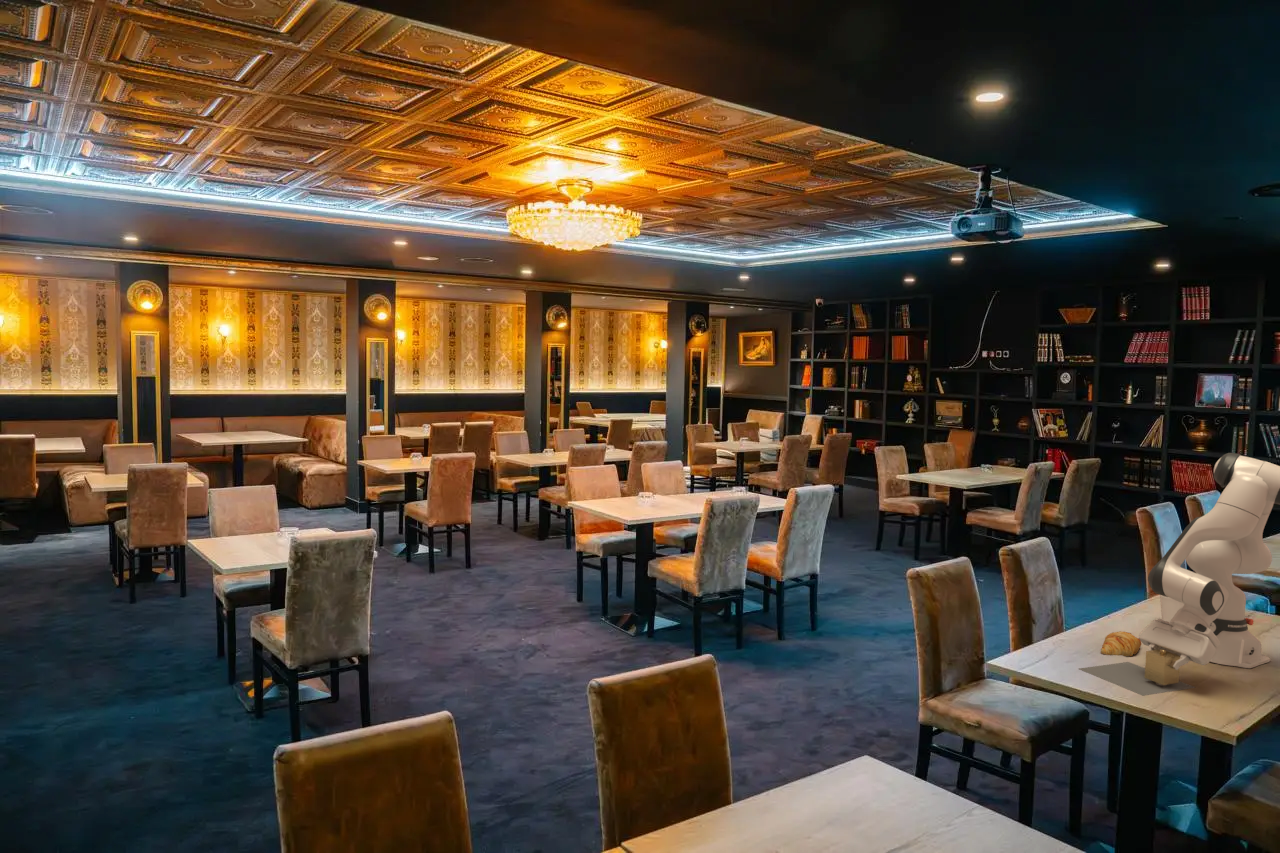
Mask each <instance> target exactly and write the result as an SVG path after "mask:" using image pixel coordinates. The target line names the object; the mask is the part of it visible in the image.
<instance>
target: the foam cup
mask: <svg viewBox="0 0 1280 853" xmlns="http://www.w3.org/2000/svg"><path fill="white" fill-rule="evenodd" d="M1159 599H1160V602H1159V603H1160V613H1161V620H1163V621H1167V622H1170V621H1171V619H1172V618H1173V617H1174V615H1175V614H1176V613H1177V611H1178V610H1179V609H1181V608H1182V607H1183V606H1184V603H1181V602H1179V601H1176V600H1174V599H1172V598H1169V597H1165V596H1162V595H1159Z"/></svg>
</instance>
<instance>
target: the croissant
mask: <svg viewBox="0 0 1280 853" xmlns="http://www.w3.org/2000/svg"><path fill="white" fill-rule="evenodd" d="M1101 646H1102V647H1101V648H1100V654H1102V655H1106V656H1122V657H1132V656H1134V655H1136V654H1137V653H1138V652H1139V650H1140V648H1141V646H1142V642H1141V640H1140V639H1139V637H1136V636H1135V635H1133V634H1132V633H1131V632H1126V631H1114V632H1111V633H1108V634H1107V635H1106V636H1105V637H1104V641H1103V644H1102V645H1101ZM1133 654H1134V655H1133Z"/></svg>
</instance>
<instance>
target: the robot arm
mask: <svg viewBox="0 0 1280 853" xmlns="http://www.w3.org/2000/svg"><path fill="white" fill-rule="evenodd" d="M1213 479H1214V481H1215V482H1216V483H1217V484H1219V486H1220V487H1221V488H1224V489H1223V491H1222V492H1221V493H1220V495H1219V497H1218V499H1217V500H1216V502H1215V505H1214V506H1213V508H1211V510H1209V512H1207V513H1206V514H1204V515H1202V516H1198V517H1197V516H1196V517H1195V518H1193V519H1192V520H1191V521H1190V522H1189V524H1188V525H1186V527H1185V528H1184V530H1182V532H1181V533H1180V534H1179V536H1178V537H1177V538H1176V540H1175V541H1174V542H1173V544H1172V545H1171V546H1170V548H1169V549H1168V550H1167V551H1166V553H1165V554H1164V556H1163V557H1162V558H1161V559H1159V561H1158V562H1157V563H1156V564H1155V565H1154V566H1153V567H1152V568H1151V569H1150V571H1149V573H1148V576H1147V581H1148V584H1149V587H1150V588H1151V590H1152V591H1153V593H1154V594H1157V595H1159V596H1160V595H1162V596H1165V597H1169V598H1172V599H1174V600H1176V601H1179V602H1181V603H1184V606H1183V607H1182V608H1181V609H1179V610H1178V611H1177V613H1176V614H1175V615H1174V617H1173V618H1172V619H1171V621H1170V622H1167V621H1163V620H1162V618H1161V619H1160V618H1159V619H1158V618H1157V619H1153V620H1151V621H1150V623H1149V624H1147V626H1146V627H1144V628H1143V630H1142V631H1141V632H1140V633H1139V634H1138V638H1139V639H1140V640H1141V644H1143V645H1145V646H1146V647H1148V651H1151V650H1159V649H1164V650H1166V651H1168V652H1170V653H1173V654H1176V655H1179V656H1180V659H1179V660H1177V661H1176V662H1175V661H1172V663H1171V664H1170V667H1171V668H1172V669H1175V670H1178V669H1179V670H1180V667H1182V666H1184V665H1187V664H1188V663H1189V662H1192V663H1195V664H1198V665H1201V666H1205V665H1207V664H1209V663H1215V664H1218V665H1224V666H1231V667H1233V666H1234V667H1239V668H1244V669H1252V668H1255V667H1258V666H1260V665H1264V664H1266V663H1269V662H1271V658H1270V657H1269V656H1267V655H1265V654H1262V642H1261V641H1260V640H1259V639H1258V638H1257V637H1256V636H1255V635H1254V634H1253V633H1252V632H1250V630H1249V628H1248V626H1253V624H1254V619H1252V618H1249V617H1246V616H1245V614H1246V603H1247V602H1246V601H1247V597H1246V594H1245V593H1244V591H1243V590H1242V589H1240V588H1239V587H1237V586H1236V585H1235V584H1234V582H1233V575H1252V574H1256V573H1257V574H1258V573H1261V572H1265V571H1266V570H1268V569H1269V568H1270V567H1271V564H1272V561H1273V555H1272V552H1271V550H1270V548H1269V547H1268V545H1266V544H1265V543H1264V539H1263V535H1264V534H1263V533H1264V529H1265V526H1266V524H1267V522H1268V519H1269V516H1270V514H1271V512H1272V509H1273V508H1274V504H1276V505H1280V465H1278V464H1274V463H1273V462H1272V463H1271V462H1268V461H1266V460H1260V459H1258V458H1254V457H1249V456H1245V455H1242V454H1240V453H1234V452H1228V453H1225V454H1222V456H1221V457H1220V458H1219V459H1218V460H1217V461H1216V462H1215V464H1214V467H1213ZM1185 561H1186V564H1187V566H1188V567H1189V569H1187V568H1184V567H1181V566H1182V565H1183V563H1184V562H1185ZM1190 569H1191V570H1193V571H1191V570H1190Z"/></svg>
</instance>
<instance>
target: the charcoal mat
mask: <svg viewBox="0 0 1280 853" xmlns="http://www.w3.org/2000/svg"><path fill="white" fill-rule="evenodd" d="M1078 670H1080V671H1081V672H1085V673H1086V674H1089V675H1092V676H1094V677H1096V678H1099V679H1101V680H1104V681H1105V682H1108V683H1112V684H1113V685H1116V686H1119V687H1121V688H1123V689H1126V690H1128V691H1130V692H1133V693H1135V694H1138V695H1140V696H1144V697H1145V696H1149V695H1156V694H1157V695H1158V694H1163V693H1170V692H1175V691H1181V690H1188V689H1195V688H1196V686H1193V685H1190V684H1188V683H1185V682H1182V681H1178V683H1174V684H1167V685H1166V686H1162V685H1158V684H1156V682H1154V681H1152V680H1149V679H1147V678H1145V667H1143V666H1141V665H1138V664H1135V663H1132V662H1130V661H1123V662H1118V663H1110V664H1103V665H1102V664H1101V665H1096V666H1095V665H1094V666H1088V667H1081V668H1078Z"/></svg>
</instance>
